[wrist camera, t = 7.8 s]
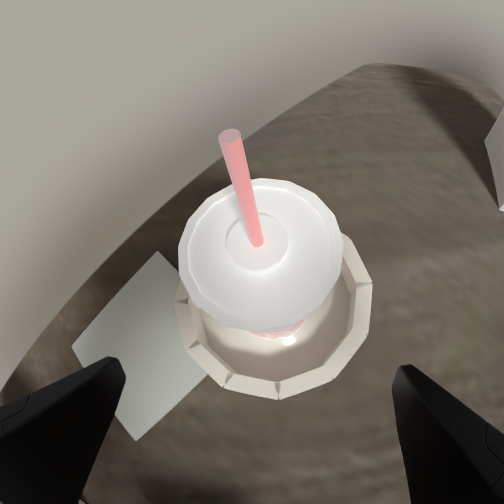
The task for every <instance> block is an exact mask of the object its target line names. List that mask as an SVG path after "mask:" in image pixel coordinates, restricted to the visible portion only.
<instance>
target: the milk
mask: <svg viewBox="0 0 504 504" xmlns="http://www.w3.org/2000/svg"><path fill="white" fill-rule="evenodd" d="M484 142H485V146H486V149H487V153H488V157H489V161H490V165H491V169H492V173H493V178H494V183H495V188H496V193H497V199H498V205H499V210H501V211H503V212H504V107H503V109H502V111H501V113H500V114H499V116H498V118H497V120H496V122H495V123H494V125H493V127H492V129H491V130H490V132H489V134H488V135H487V137H486V139H485V140H484Z"/></svg>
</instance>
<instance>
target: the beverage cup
mask: <svg viewBox="0 0 504 504" xmlns="http://www.w3.org/2000/svg"><path fill="white" fill-rule="evenodd" d="M218 139H219V143H220V146H221V149H222V152H223V156H224V159H225V162H226V165H227V168H228V172H229V175H230V178H231V181H232V184H231V185H229V186H228V187H226V188H224V189H222V190H221V191H219V192H217V193H215V194H214V195H212V196H210V197H208V198H207V199H206V200H205V201H204V202H203V203H202V205H201V206H200V207H199V208H198V209H197V210H196V211H195V212H194V214H193V215H192V216H191V217H190V218H189V219H188V222H187V224H186V227H185V229H184V232H183V235H182V237H181V240H180V242H179V245H178V258H179V276H180V278H181V280H182V282H183V284H184V286H185V288H186V290H187V291H188V293H189V295H190V297H191V299H192V301H193V303H195V304H196V305H197V306H199V307H200V308H201V309H202V310H204V311H205V312H206V313H208V314H209V315H210V316H211V317H213V318H214V319H215V320H217V321H218V322H219V323H221V324H223V325H225V326H228V327H232V328H237V329H241V330H245V331H249V332H251V333H253V334H254V335H256V336H258V337H261V338H265V339H270V340H276V339H282V338H287V337H288V336H290V335H292V334H293V333H295V332H296V331H298V330H299V329H300V327H301V326H302V324H303V323H304V321H305V320H306V318H307V317H308V315H310V314H311V313H313V312H314V311H316V310H317V309H319V308H320V306H321V305H322V303H323V302H324V300H325V298H326V297H327V295H328V294H329V292H330V290H331V289H332V287H333V286H334V284H335V282H336V281H337V279H338V277H339V275H340V271H341V263H342V255H343V245H344V242H343V239H342V236H341V233H340V230H339V227H338V224H337V221H336V218H335V215H334V214H333V213H332V212H331V211H330V210H329V208H328V207H327V206H326V205H325V204H324V203H323V202H322V201H321V200H320V199H319V198H318V197H317V195H316V194H314V193H312V192H310V191H308V190H306V189H304V188H302V187H300V186H298V185H296V184H294V183H292V182H290V181H283V180H274V179H265V178H258V179H253V180H251V179H250V174H249V170H248V165H247V161H246V156H245V152H244V148H243V143H242V139H241V135H240V132H239V131H238V130H236V129H228V130H225V131H223V132H221V133H220V134H219V136H218Z"/></svg>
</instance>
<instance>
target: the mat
mask: <svg viewBox="0 0 504 504" xmlns="http://www.w3.org/2000/svg"><path fill="white" fill-rule="evenodd" d="M179 281H180V276H179V272H178V271H177V270H176V269H175V268H174V267H173V266H172V265H171V264H170V263H169V262H168V261H167V260H166V259H165V258H164V257H163V256H162V254H161V253H160V252H159V251H157V252H156V253H155V254H154V255H153V256H152V257H151V258H150V259H149V260H148V261H147V262H146V263H145V264H144V265H143V266H142V267H141V268H140V269H139V270H138V271H137V272H136V274H135V275H134V276H133V277H132V278H131V279H130V280H129V281H128V282H127V283H126V284H125V285H124V286H123V287H122V289H121V290H120V291H119V292H118V293H117V294H116V295H115V296H114V297H113V298H112V300H111V301H110V302H109V303H108V304H107V305H106V306H105V307H104V308H103V310H102V311H101V312H100V313H99V314H98V315H97V316H96V318H95V319H94V320H93V321H92V322H91V323H90V325H89V326H88V327H87V328H86V329H85V330H84V332H83V333H82V334H81V335H80V336H79V338H78V339H77V340H76V341H75V342H74V344H73V345H72V346H71V347H72V348H73V350H74V352H75V354H76V356H77V357H78V359H79V361H80V363H81V364H82V366H83V368H85V367H87V366H89V365H91V364H93V363H95V362H97V361H99V360H101V359H103V358H105V357H107V356H110V357H115V358H118V359H119V361H120V363H121V365H122V367H123V370H124V372H125V374H126V382H125V385H124V388H123V391H122V394H121V397H120V400H119V403H118V406H117V409H116V412H115V416H116V417H117V418H118V420H119V421H120V422H121V424H122V425H123V426H124V427H125V429H126V430H127V431H128V432H129V434H130V435H131V436H132V437H133V439H134V440H135V441H137V440H138V439H139V438H141V437H142V436H143V435H144V434H145V433H146V432H147V431H148V430H150V429H151V428H152V427H153V426H154V425H155V424H156V423H157V422H158V421H159V420H161V419H162V418H163V417H164V416H165V415H166V414H167V413H168V412H169V411H170V410H171V409H172V408H173V407H174V406H176V405H177V404H178V403H179V402H180V401H181V400H182V399H183V398H184V397H185V396H186V395H187V394H188V393H189V392H190V391H191V390H192V389H193V388H194V387H195V386H196V385H197V384H198V383H199V382H200V381H201V380H202V379H204V378H205V377H206V376H207V375H208V373H207V372H206V371H205V370H204V369H203V368H202V367H201V366H200V365H199V364H198V363H197V362H196V361H195V360H194V359H193V358H192V357H191V356H190V355H189V354H188V353H187V352H186V350H185V349H184V345H183V341H182V337H181V333H180V329H179V325H178V320H177V316H176V312H175V307H174V303H175V302H174V298H175V295H176V291H177V288H178V285H179Z"/></svg>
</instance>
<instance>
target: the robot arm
mask: <svg viewBox="0 0 504 504" xmlns="http://www.w3.org/2000/svg"><path fill="white" fill-rule="evenodd" d="M125 382H126V374H125V372H124V370H123V367H122V365H121V363H120V361H119V359H118V358H115V357H110V356H107V357H105V358H103V359H101V360H99V361H97V362H95V363H93V364H91V365H89V366H87V367H85V368H83V369H81V370H79V371H77V372H75V373H73V374H71V375H69V376H67V377H65V378H62V379H60V380H58V381H56V382H54V383H52V384H50V385H48V386H46V387H44V388H42V389H40V390H38V391H35V392H33V393H31V394H29V395H27V396H25V397H23V398H20V399H18V400H16V401H14V402H11V403H8V404H6V405H3V406H0V504H78V503H79V500H80V497H81V495H82V492H83V489H84V487H85V484H86V482H87V479H88V477H89V474H90V471H91V469H92V466H93V464H94V462H95V459H96V457H97V454H98V452H99V450H100V447H101V445H102V443H103V440H104V438H105V436H106V433H107V431H108V429H109V426H110V424H111V422H112V420H113V417H114V415H115V412H116V409H117V406H118V403H119V400H120V397H121V394H122V391H123V388H124V385H125ZM392 395H393V402H394V409H395V417H396V425H397V432H398V437H399V441H400V446H401V450H402V455H403V460H404V465H405V470H406V475H407V481H408V487H409V493H410V500H411V504H504V434H503V433H502V432H500V431H499V430H498V429H496V428H495V427H493V426H492V425H491V424H490V423H488V422H486V420H484V419H483V418H482V417H480V416H479V415H478V414H476V413H475V412H474V411H472V410H471V409H470V408H469V407H467V406H466V405H465V404H463V403H462V402H461V401H459V400H458V399H457V398H455V397H454V396H453V395H451V394H450V393H449V392H448V391H446V390H445V389H444V388H442V387H441V386H440V385H438V384H437V383H436V382H434V381H433V380H432V379H430V378H429V377H428V376H426V375H425V374H424V373H422V372H421V371H420V370H419V369H417V368H416V367H415V366H413V365H411V364H408V365H402V366H399V367H398V369H397V372H396V375H395V378H394V381H393V384H392Z"/></svg>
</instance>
